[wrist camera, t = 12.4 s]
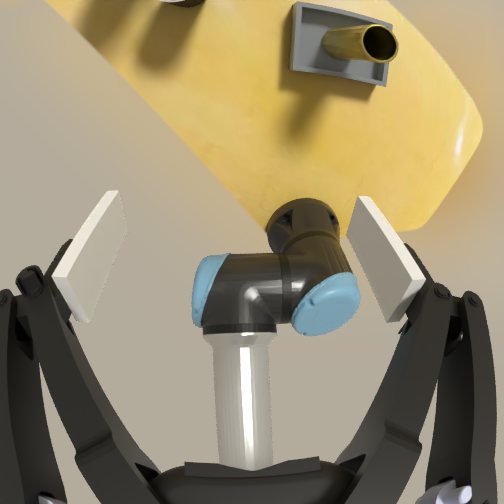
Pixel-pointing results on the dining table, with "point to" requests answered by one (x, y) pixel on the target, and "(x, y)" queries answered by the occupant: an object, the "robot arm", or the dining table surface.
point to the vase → (361, 43)
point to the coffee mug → (184, 2)
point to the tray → (313, 53)
